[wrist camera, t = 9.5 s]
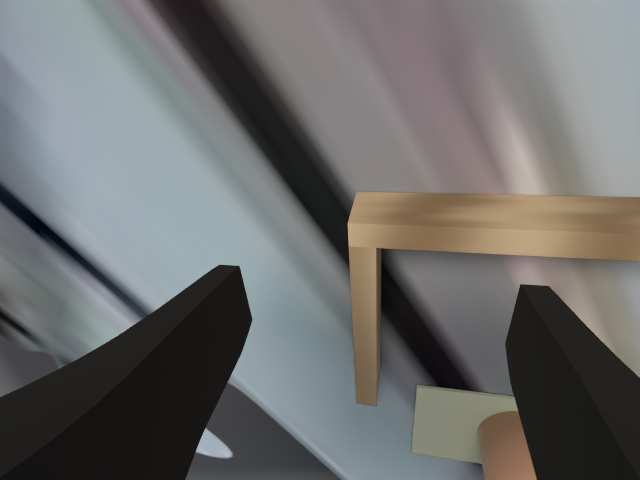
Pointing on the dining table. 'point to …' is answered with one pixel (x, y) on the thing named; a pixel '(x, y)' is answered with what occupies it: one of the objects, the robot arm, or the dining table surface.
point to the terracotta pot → (504, 448)
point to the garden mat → (453, 421)
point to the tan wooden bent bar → (472, 244)
